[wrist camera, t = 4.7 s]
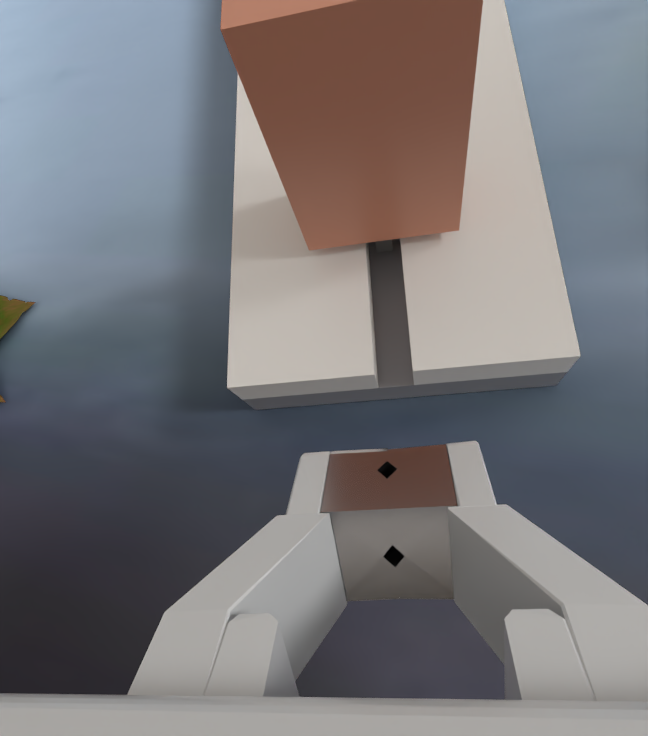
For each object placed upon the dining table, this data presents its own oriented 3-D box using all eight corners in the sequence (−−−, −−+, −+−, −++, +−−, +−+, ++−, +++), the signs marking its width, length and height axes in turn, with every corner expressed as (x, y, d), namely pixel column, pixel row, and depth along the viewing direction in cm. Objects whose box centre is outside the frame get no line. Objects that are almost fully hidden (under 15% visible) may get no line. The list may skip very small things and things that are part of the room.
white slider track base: (451, -158, 28) (453, -237, 25) (556, 385, 18) (581, 354, 15) (262, -109, 30) (245, -178, 27) (255, 409, 19) (225, 387, 17)
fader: (446, 190, 19) (464, -131, 10) (456, 259, 18) (486, -29, 9) (317, 209, 20) (225, -71, 11) (319, 276, 19) (220, 29, 10)
